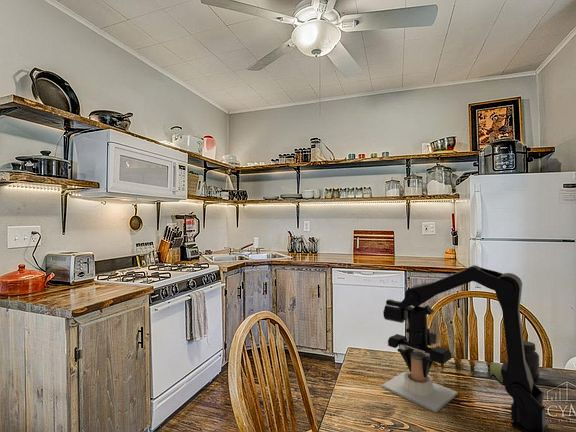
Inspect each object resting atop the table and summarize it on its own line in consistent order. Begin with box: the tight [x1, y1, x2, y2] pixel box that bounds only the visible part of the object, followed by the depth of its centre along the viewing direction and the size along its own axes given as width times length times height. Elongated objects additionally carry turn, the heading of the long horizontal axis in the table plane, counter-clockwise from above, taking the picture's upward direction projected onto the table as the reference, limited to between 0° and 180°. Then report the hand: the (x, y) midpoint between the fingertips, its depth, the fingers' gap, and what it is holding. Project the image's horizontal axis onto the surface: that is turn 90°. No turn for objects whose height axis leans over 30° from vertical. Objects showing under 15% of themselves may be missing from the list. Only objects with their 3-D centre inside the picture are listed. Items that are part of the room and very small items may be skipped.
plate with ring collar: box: [381, 371, 458, 413], centre depth 103 cm, size 18×14×4 cm
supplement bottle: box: [523, 340, 541, 384], centre depth 110 cm, size 7×7×12 cm
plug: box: [411, 350, 426, 383], centre depth 103 cm, size 4×4×10 cm
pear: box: [489, 363, 503, 383], centre depth 110 cm, size 6×5×10 cm
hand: (418, 374), depth 103 cm, fingers open, 4 cm apart
